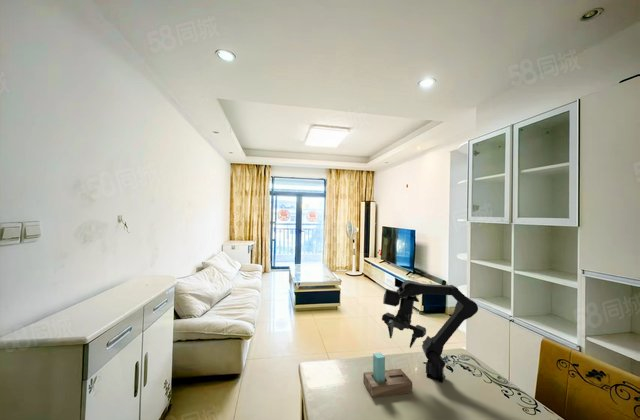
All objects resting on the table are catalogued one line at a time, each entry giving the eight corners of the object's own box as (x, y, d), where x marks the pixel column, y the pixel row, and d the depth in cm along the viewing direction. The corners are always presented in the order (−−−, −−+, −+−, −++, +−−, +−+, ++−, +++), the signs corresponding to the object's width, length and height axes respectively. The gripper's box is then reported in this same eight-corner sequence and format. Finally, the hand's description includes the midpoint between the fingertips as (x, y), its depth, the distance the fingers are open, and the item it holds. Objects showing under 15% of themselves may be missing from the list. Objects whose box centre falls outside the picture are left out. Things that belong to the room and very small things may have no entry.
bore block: (412, 392, 96) (412, 382, 96) (371, 397, 93) (372, 386, 93) (400, 378, 105) (400, 368, 105) (363, 382, 101) (363, 372, 102)
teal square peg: (380, 384, 100) (380, 352, 101) (384, 390, 97) (384, 356, 98) (373, 386, 99) (373, 353, 100) (377, 391, 96) (377, 358, 97)
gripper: (379, 304, 110) (373, 338, 110) (421, 321, 98) (415, 359, 98) (389, 300, 119) (384, 332, 118) (429, 315, 107) (423, 350, 106)
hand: (400, 342), depth 110 cm, fingers open, 9 cm apart
